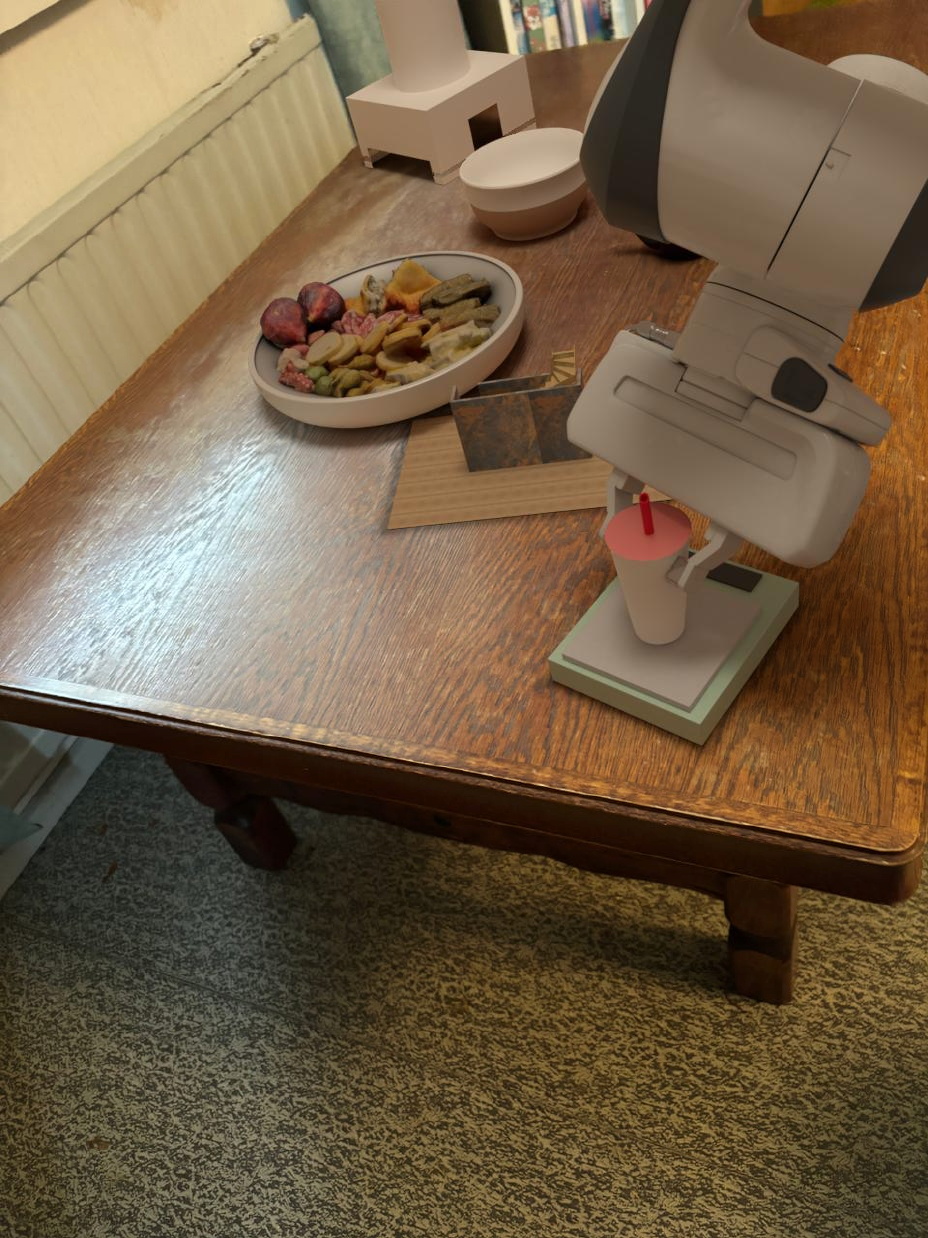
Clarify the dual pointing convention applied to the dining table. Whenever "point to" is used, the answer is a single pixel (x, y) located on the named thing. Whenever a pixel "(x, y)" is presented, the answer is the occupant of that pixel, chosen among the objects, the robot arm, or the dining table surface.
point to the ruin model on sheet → (502, 455)
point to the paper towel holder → (435, 88)
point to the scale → (679, 650)
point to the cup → (650, 566)
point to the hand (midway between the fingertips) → (645, 565)
